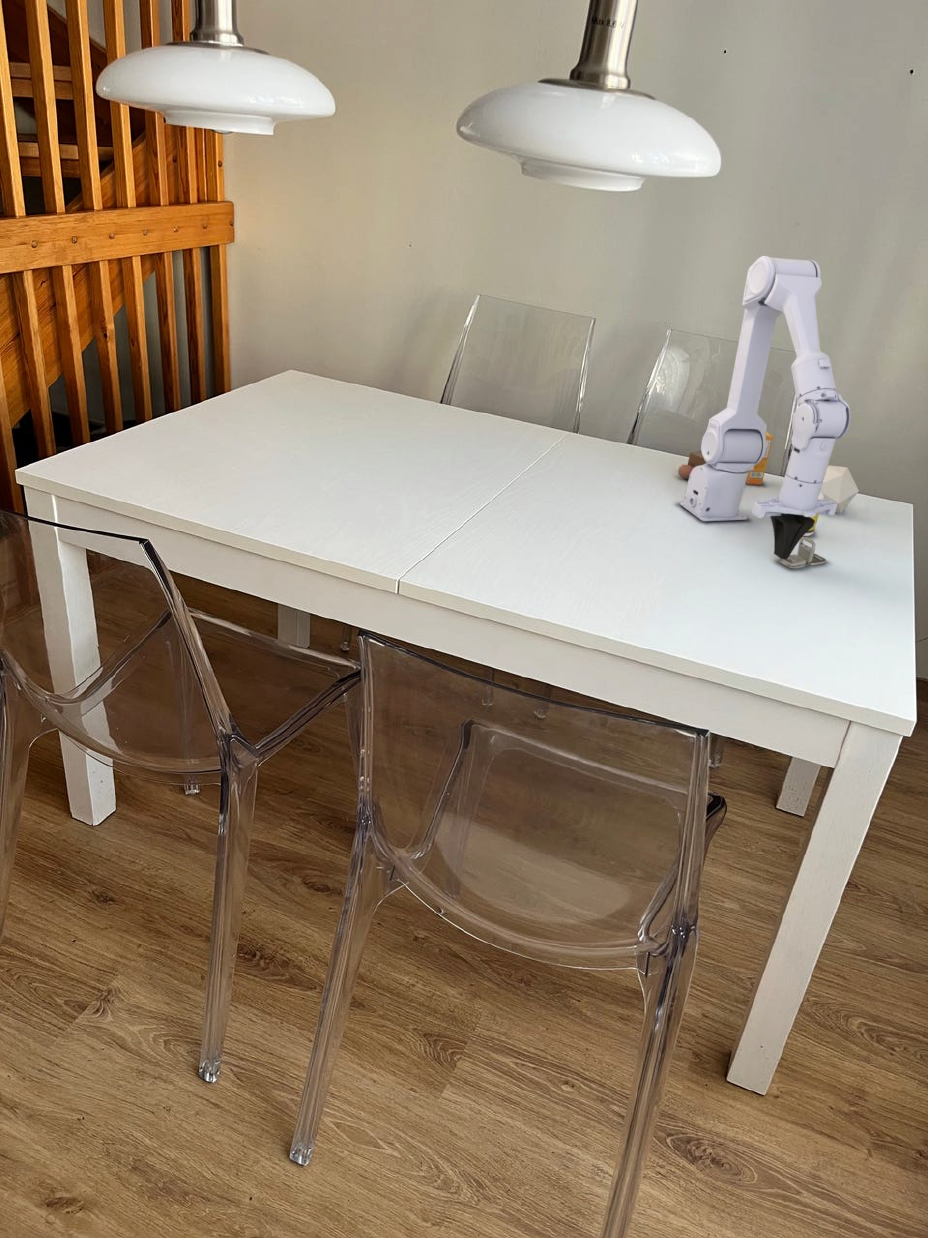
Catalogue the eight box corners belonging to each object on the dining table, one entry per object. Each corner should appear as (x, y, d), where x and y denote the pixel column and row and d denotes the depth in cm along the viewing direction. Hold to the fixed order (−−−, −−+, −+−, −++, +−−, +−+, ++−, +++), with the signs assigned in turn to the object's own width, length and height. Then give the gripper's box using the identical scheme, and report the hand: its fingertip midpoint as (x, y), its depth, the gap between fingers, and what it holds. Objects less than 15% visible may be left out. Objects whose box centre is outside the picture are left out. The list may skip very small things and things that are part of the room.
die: (841, 525, 178) (876, 481, 177) (805, 496, 176) (839, 451, 176) (821, 523, 186) (854, 481, 185) (786, 495, 185) (819, 453, 184)
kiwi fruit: (706, 480, 189) (709, 467, 188) (686, 482, 186) (689, 469, 185) (687, 470, 193) (689, 457, 192) (667, 472, 190) (670, 460, 189)
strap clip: (790, 569, 155) (797, 545, 153) (776, 561, 158) (783, 538, 156) (826, 563, 159) (834, 539, 157) (812, 555, 162) (820, 532, 160)
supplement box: (739, 478, 193) (752, 429, 188) (756, 479, 193) (769, 431, 189) (745, 484, 190) (758, 435, 185) (762, 485, 190) (775, 436, 186)
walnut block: (704, 485, 187) (710, 460, 184) (684, 476, 190) (690, 452, 188) (720, 481, 190) (726, 457, 187) (700, 473, 193) (706, 449, 191)
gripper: (781, 487, 144) (757, 569, 151) (858, 485, 149) (833, 564, 155) (753, 470, 150) (732, 549, 156) (829, 468, 155) (805, 546, 161)
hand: (780, 556), depth 156 cm, fingers closed
